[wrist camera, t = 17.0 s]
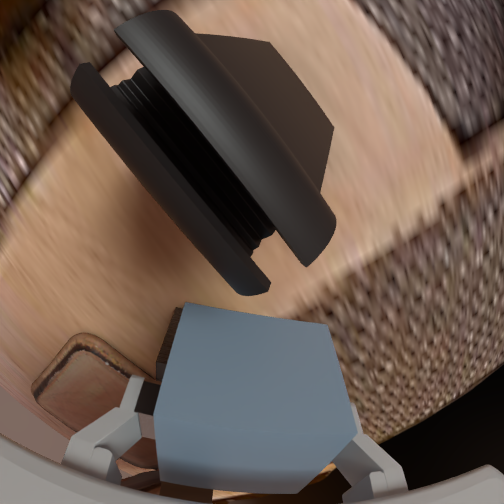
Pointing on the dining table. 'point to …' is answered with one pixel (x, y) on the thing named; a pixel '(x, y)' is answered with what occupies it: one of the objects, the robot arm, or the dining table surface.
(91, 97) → the phone stand
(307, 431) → the top cap
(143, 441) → the case
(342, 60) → the dining table surface
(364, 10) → the dining table surface
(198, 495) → the slat
